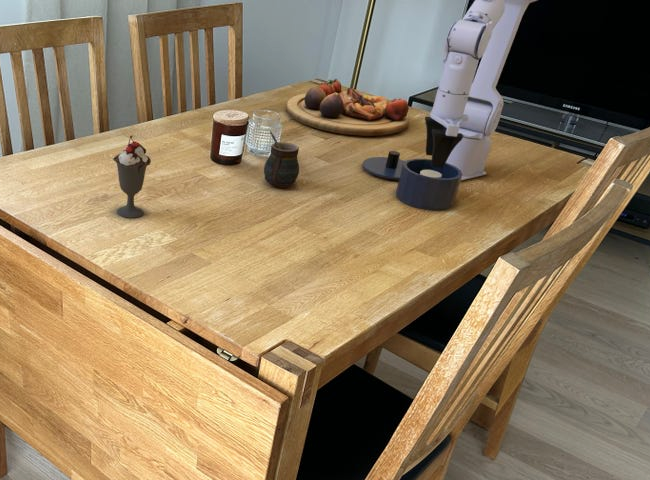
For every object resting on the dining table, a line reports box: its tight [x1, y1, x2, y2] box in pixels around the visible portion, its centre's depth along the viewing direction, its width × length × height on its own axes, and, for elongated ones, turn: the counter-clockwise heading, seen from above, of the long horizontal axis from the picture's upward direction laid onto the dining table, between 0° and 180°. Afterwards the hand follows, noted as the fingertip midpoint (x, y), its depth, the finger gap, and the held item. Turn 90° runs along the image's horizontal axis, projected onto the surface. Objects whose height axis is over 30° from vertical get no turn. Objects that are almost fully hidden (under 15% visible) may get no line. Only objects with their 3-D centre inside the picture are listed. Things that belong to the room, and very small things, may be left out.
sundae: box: [112, 134, 152, 219], centre depth 130 cm, size 7×7×15 cm
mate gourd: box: [263, 131, 300, 189], centre depth 147 cm, size 7×8×10 cm
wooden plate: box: [285, 78, 410, 137], centre depth 189 cm, size 32×32×8 cm
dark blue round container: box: [395, 158, 462, 211], centre depth 147 cm, size 11×11×6 cm
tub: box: [420, 170, 442, 178], centre depth 147 cm, size 4×4×5 cm
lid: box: [361, 150, 406, 181], centre depth 159 cm, size 12×12×4 cm
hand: (434, 160), depth 144 cm, fingers open, 6 cm apart
